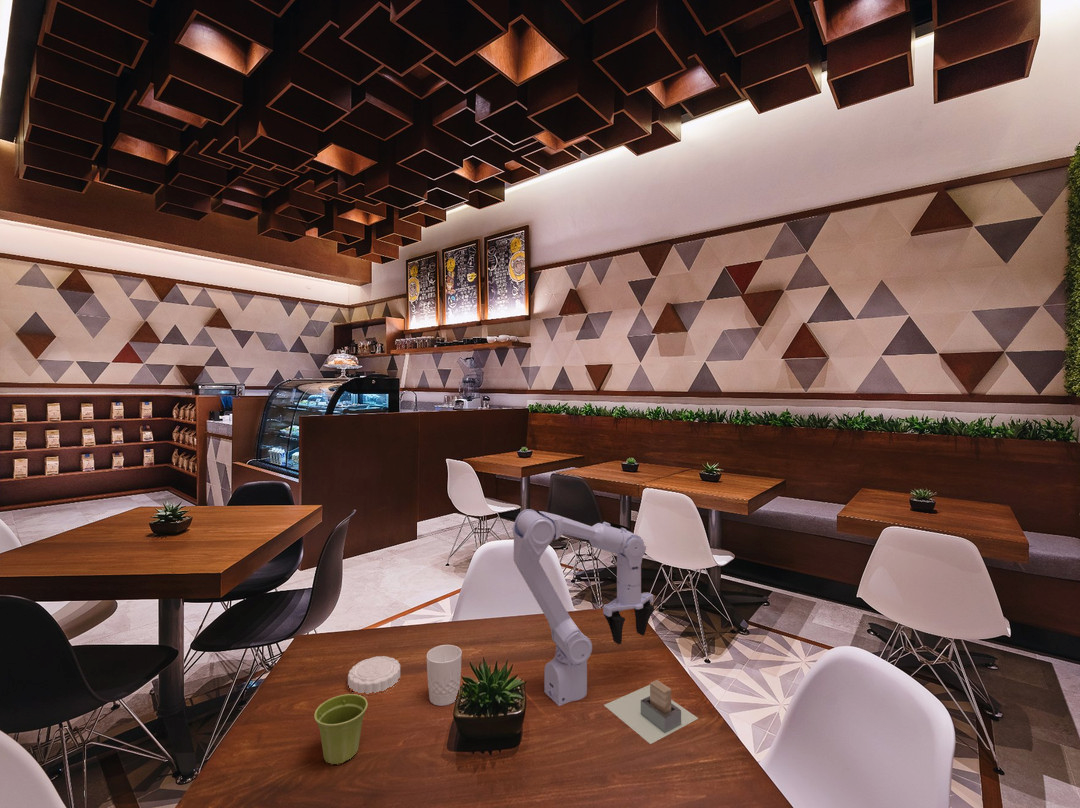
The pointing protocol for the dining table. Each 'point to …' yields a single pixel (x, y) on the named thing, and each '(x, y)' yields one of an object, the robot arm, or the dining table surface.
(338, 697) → the plant pot
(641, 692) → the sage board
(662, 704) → the wooden block
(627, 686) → the dining table surface
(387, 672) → the mooncake
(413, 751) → the dining table surface
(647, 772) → the dining table surface
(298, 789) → the dining table surface
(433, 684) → the white cup
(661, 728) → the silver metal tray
